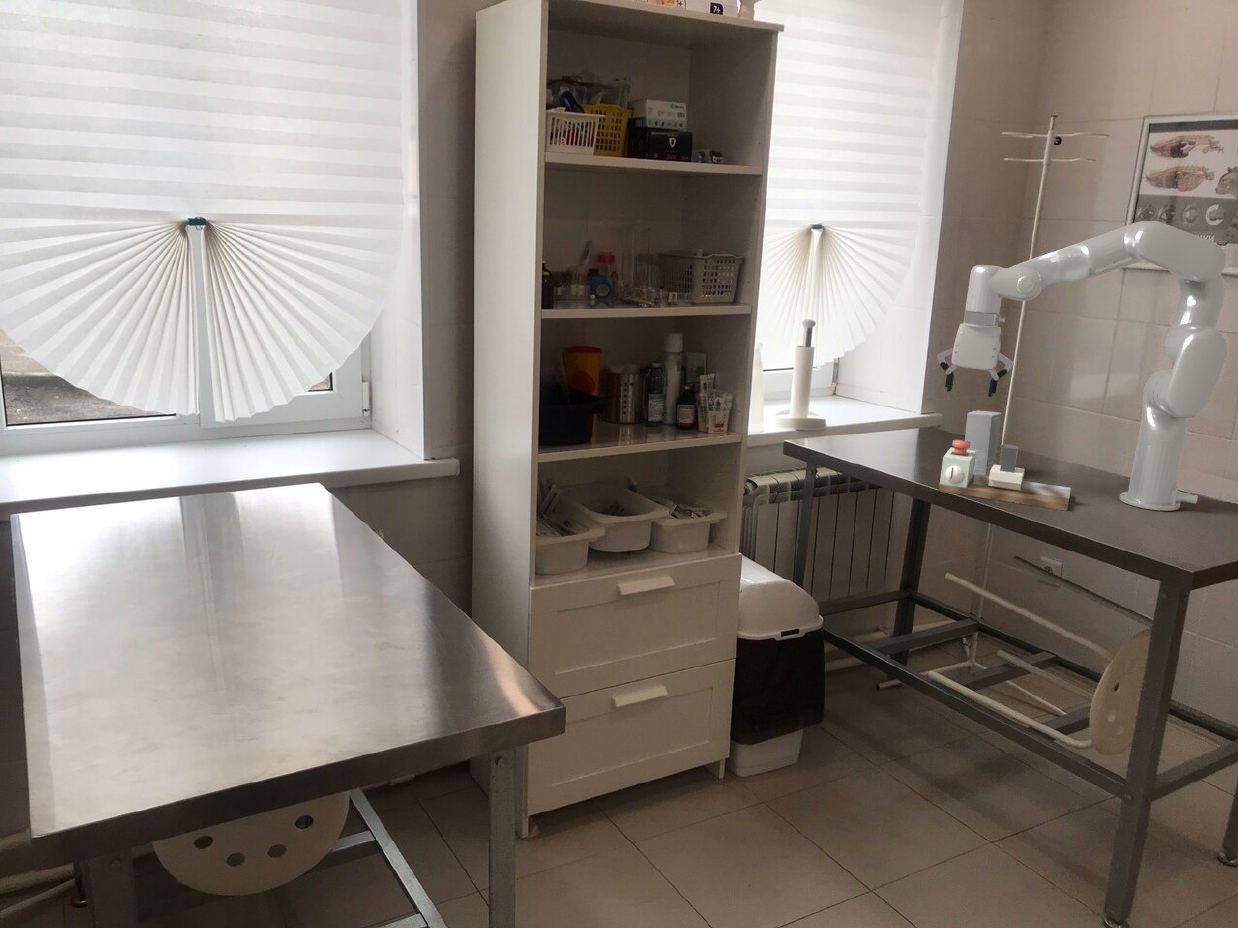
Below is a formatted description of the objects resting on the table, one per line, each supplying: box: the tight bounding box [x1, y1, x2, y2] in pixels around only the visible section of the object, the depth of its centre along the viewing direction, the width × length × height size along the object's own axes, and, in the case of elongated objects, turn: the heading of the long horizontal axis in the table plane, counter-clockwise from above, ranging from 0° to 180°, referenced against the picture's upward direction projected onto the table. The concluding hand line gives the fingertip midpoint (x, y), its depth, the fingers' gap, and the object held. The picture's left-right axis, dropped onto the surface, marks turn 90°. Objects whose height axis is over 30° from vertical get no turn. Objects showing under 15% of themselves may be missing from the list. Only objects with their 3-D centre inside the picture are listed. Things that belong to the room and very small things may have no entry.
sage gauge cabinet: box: [939, 447, 976, 488], centre depth 237 cm, size 6×12×6 cm, turn 154°
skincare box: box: [964, 409, 1003, 476], centre depth 251 cm, size 8×7×16 cm
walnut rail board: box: [937, 474, 1072, 512], centre depth 233 cm, size 28×14×4 cm, turn 64°
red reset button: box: [952, 439, 970, 456], centre depth 236 cm, size 4×4×3 cm
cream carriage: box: [988, 443, 1025, 490], centre depth 232 cm, size 7×8×9 cm
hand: (969, 393), depth 232 cm, fingers open, 8 cm apart
